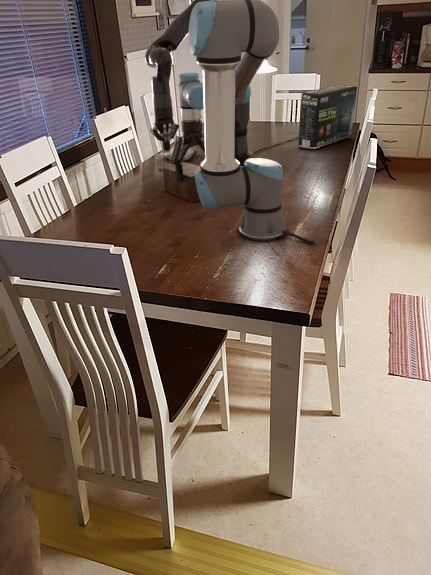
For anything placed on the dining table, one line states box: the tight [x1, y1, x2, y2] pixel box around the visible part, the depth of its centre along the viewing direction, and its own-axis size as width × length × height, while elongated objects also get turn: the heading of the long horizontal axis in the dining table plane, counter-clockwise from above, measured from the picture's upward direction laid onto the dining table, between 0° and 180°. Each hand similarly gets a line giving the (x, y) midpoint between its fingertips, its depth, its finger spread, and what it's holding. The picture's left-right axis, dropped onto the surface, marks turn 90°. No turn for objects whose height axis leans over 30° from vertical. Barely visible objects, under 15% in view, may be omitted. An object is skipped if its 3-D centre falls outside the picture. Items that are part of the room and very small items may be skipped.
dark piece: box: [158, 165, 169, 189], centre depth 185 cm, size 22×9×8 cm, turn 40°
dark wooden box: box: [163, 161, 201, 203], centre depth 182 cm, size 18×10×10 cm, turn 40°
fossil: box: [160, 142, 199, 163], centre depth 229 cm, size 18×11×15 cm
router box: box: [297, 84, 358, 151], centre depth 238 cm, size 36×11×27 cm, turn 134°
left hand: (166, 150), depth 186 cm, fingers closed
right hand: (194, 176), depth 178 cm, fingers open, 13 cm apart
